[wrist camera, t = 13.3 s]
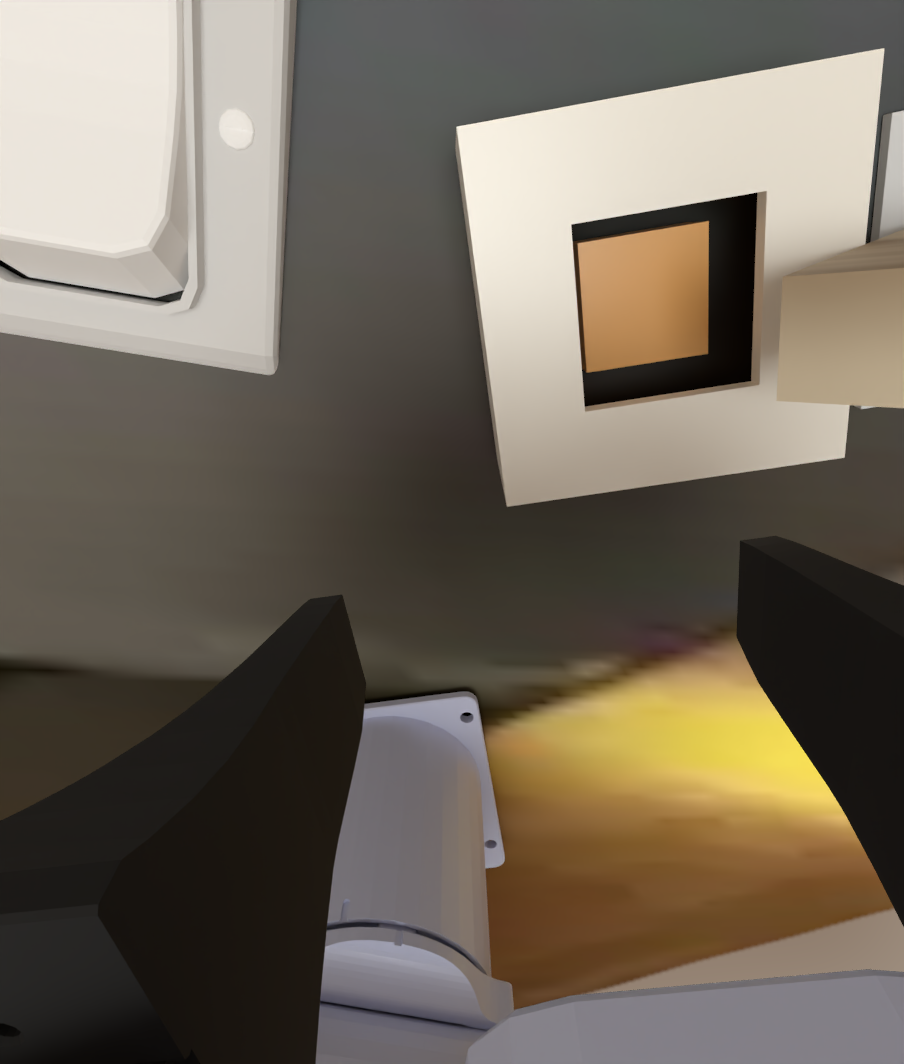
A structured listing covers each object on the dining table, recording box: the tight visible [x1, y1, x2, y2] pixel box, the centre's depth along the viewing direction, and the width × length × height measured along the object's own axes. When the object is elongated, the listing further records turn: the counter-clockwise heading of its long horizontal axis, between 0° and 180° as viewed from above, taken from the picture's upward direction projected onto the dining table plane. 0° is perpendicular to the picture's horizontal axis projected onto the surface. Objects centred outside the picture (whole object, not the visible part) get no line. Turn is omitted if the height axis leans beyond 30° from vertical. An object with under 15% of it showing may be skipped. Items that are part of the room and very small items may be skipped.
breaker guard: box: [455, 48, 884, 507], centre depth 18 cm, size 9×9×4 cm
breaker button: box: [573, 221, 709, 373], centre depth 18 cm, size 3×3×2 cm
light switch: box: [0, 0, 297, 375], centre depth 16 cm, size 11×4×13 cm
